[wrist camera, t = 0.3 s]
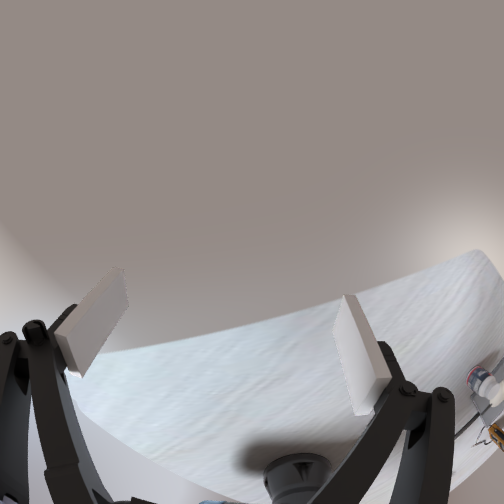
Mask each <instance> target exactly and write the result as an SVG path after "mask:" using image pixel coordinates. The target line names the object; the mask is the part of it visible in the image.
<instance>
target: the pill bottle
mask: <svg viewBox="0 0 504 504" xmlns="http://www.w3.org/2000/svg"><path fill="white" fill-rule="evenodd" d="M466 384H467V385H468V386H469V387H470V388H471V389H472V390H473V391H474V392H476V393H477V394H478V395H479V396H481V397H486V398H487V399H488V400H491V399H493V398H494V397H495V396H496V395H497V393H498V392H499V389H500V384H499V383H497V382H496V379H495V377H494V376H493V375H492V374H490V373H489V372H487V371H486V370H485V369H483V368H482V367H480V366H476V367H474V368H473V369H472V370H471V371H470V372H469V373H468V375H467V378H466Z"/></svg>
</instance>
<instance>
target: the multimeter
mask: <svg viewBox="0 0 504 504" xmlns="http://www.w3.org/2000/svg"><path fill="white" fill-rule="evenodd" d="M489 426H491V425H489ZM483 428H484V427H483ZM482 430H483V429H482ZM488 431H489V434H490V438H491V439H492V441H494V442H495V443H496V444H497V445H498V447H499V448H500V449H502V451H503V452H504V431H502V430H501V429H500V428H499V427H498V426H497V425H496V424H493V425H492V426H491V427H490V428H489V429H488ZM481 433H482V431H481V432H480V434H479V436H478V438H477V441H478V439H479V437H480V435H481ZM477 441H476V443H477ZM483 442H484V441H483ZM481 443H482V442H480V443H478V444H475V446H477V445H479V444H481ZM489 443H490V442H489ZM489 443H488V444H489ZM484 444H485V443H484ZM485 445H487V444H485ZM472 447H474V446H472Z"/></svg>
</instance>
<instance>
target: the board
mask: <svg viewBox="0 0 504 504" xmlns="http://www.w3.org/2000/svg"><path fill="white" fill-rule="evenodd" d="M491 374H492V375H493V376H494V377H495V379H496V382H497V383H499V384H500V389H499V392H498V393H497V395H496V396H495V397H494V398H493V399H491V400H488V399H487V398H486V397H481V396H479V395H478V394H477V393H476V392H474V393H473V394H472V396H471V398H472V400H473V402H474V404H475V406H476V408H477V410H478V414H477V415H476V416H475V417H474V418H473V419H472V420H471V421H470V422H469V423H468V424H467V425H466V426H465V427H464V428H463V429H461V430H460V431H459V432H458V433H457V434H456V435H455V436H454V440H455V439H456V438H457V437H458V436H459V435H461V434H462V433H463V432H464V431H465V430H466V429H467V428H468V427H469V426H470V425H471V424H472V423H473V422H474V421H475V420H476V419H477V418H478V417H479V416H481V419H482V421H483V423H484V425H485V427H486V428H487V427H488V426H489V425H490V424H491V423H492V422H493V421H494V420H495V419H496V418H497V416H498V415H499V414H500V413H501V412H502V411H503V410H504V358H503V359H502V360H501V362H500V363H499V364H498V365H497V367H496V368H495V369H494V370H493V372H492V373H491Z"/></svg>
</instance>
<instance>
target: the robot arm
mask: <svg viewBox="0 0 504 504" xmlns="http://www.w3.org/2000/svg"><path fill="white" fill-rule="evenodd" d="M128 307H129V305H128V298H127V290H126V282H125V274H124V269H122V268H115V267H113V268H112V269H111V270H110V271H109V272H108V273H107V274H106V275H105V276H104V277H103V278H102V280H100V282H99V283H98V284H97V285H96V286H95V287H94V288H93V289H92V290H91V291H90V292H89V293H88V294H87V296H86V297H85V298H84V299H83V300H82V301H81V302H80V303H79V304H78V305H77V304H73V305H71V306H70V307H68V308H67V309H66V310H65V311H64V312H63V313H62V315H60V316H59V317H58V319H57V320H56V321H55V322H54V323H53V324H52V325H51V326H50V328H49V329H48V330H47V329H46V326H45V324H44V322H43V321H41V320H32V321H29V322H28V323H26V324H25V325H24V326H23V328H22V332H23V334H24V337H25V339H26V340H18V337H17V335H16V333H14V332H11V331H9V332H5V333H3V334H2V335H0V504H29V485H28V428H29V414H30V404H31V395H32V400H33V407H34V413H35V419H36V424H37V429H38V434H39V438H40V442H41V447H42V451H43V454H44V458H45V462H46V465H47V469H46V470H45V471H44V476H45V480H46V483H47V486H48V489H49V492H50V495H51V497H52V500H53V503H54V504H156V503H152V502H148V501H145V500H141V499H137V498H135V497H132V498H131V501H117V502H114V501H113V500H112V498H111V496H110V495H109V493H108V492H107V490H106V489H105V488H104V486H103V484H102V482H101V479H100V477H99V475H98V473H97V470H96V469H95V466H94V463H93V461H92V459H91V456H90V454H89V451H88V449H87V446H86V443H85V440H84V438H83V435H82V432H81V429H80V426H79V423H78V420H77V417H76V413H75V410H74V406H73V403H72V399H71V396H70V392H69V388H68V384H67V380H66V375H65V373H64V370H65V368H66V367H67V368H68V370H69V372H70V374H71V375H74V376H77V377H80V378H83V376H84V375H85V373H86V371H87V370H88V368H89V367H90V365H91V363H92V362H93V360H94V359H95V357H96V355H97V354H98V352H99V351H100V349H101V347H102V346H103V344H104V343H105V341H106V340H107V338H108V336H109V335H110V333H111V332H112V330H113V329H114V327H115V326H116V324H117V323H118V321H119V320H120V319H121V317H122V316H123V314H124V313H125V311H126V310H127V308H128ZM332 332H333V336H334V339H335V343H336V346H337V350H338V354H339V357H340V361H341V365H342V368H343V372H344V376H345V380H346V384H347V388H348V392H349V396H350V400H351V404H352V408H353V412H354V416H358V415H369V413H370V412H371V411H372V409H373V408H374V411H375V415H374V417H373V418H372V420H371V421H370V422H369V424H368V425H367V428H366V429H365V431H364V432H363V434H362V435H361V436H360V438H359V439H358V441H357V442H356V444H355V445H354V446H353V448H352V449H351V451H350V452H349V453H348V455H347V456H346V457H345V459H344V460H343V461H342V463H341V464H340V465H339V466H338V468H337V469H336V470H335V471H334V473H333V474H332V468H331V464H330V462H329V461H328V460H327V459H326V458H324V457H322V456H319V455H316V454H307V453H303V454H294V455H289V456H285V457H282V458H280V459H278V460H276V461H274V462H272V463H271V464H270V465H269V466H268V467H267V468H266V469H265V471H264V485H265V487H266V490H267V492H268V494H269V495H270V497H271V499H272V504H359V502H360V501H361V499H362V498H363V497H364V495H365V494H366V492H367V491H368V489H369V488H370V486H371V485H372V483H373V482H374V480H375V478H376V477H377V475H378V474H379V472H380V470H381V469H382V467H383V465H384V464H385V462H386V460H387V459H388V457H389V455H390V453H391V451H392V450H393V448H394V446H395V444H396V442H397V440H398V438H399V436H400V435H401V433H402V431H403V430H407V432H406V438H405V443H404V448H403V453H402V458H401V462H400V467H399V471H398V475H397V479H396V482H395V486H394V489H393V493H392V496H391V500H390V503H389V504H447V503H448V497H449V491H450V484H451V476H452V466H453V455H454V436H455V399H454V395H453V394H452V392H451V391H450V390H448V389H447V388H444V387H437V388H435V389H434V390H433V392H432V393H426V392H420V391H418V389H417V387H416V386H415V385H414V384H413V383H411V382H409V381H406V380H405V377H404V375H403V373H402V371H401V368H400V366H399V364H398V362H397V360H396V358H395V356H394V353H393V351H392V349H391V347H390V346H389V345H388V344H387V343H386V342H385V341H376V338H375V336H374V334H373V332H372V330H371V327H370V325H369V323H368V321H367V319H366V317H365V314H364V312H363V310H362V308H361V306H360V304H359V302H358V300H357V298H356V296H355V295H343V298H342V301H341V305H340V308H339V311H338V314H337V318H336V321H335V324H334V327H333V330H332ZM199 504H247V503H233V502H227V501H208V500H207V501H202V502H201V503H199Z"/></svg>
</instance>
